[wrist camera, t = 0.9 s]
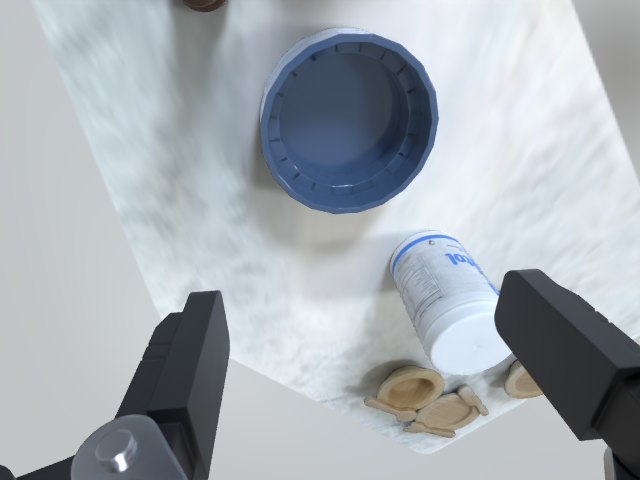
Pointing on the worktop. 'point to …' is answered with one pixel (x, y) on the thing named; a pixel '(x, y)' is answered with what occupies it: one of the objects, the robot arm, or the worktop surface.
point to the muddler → (204, 4)
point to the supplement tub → (448, 303)
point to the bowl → (347, 120)
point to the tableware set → (440, 399)
